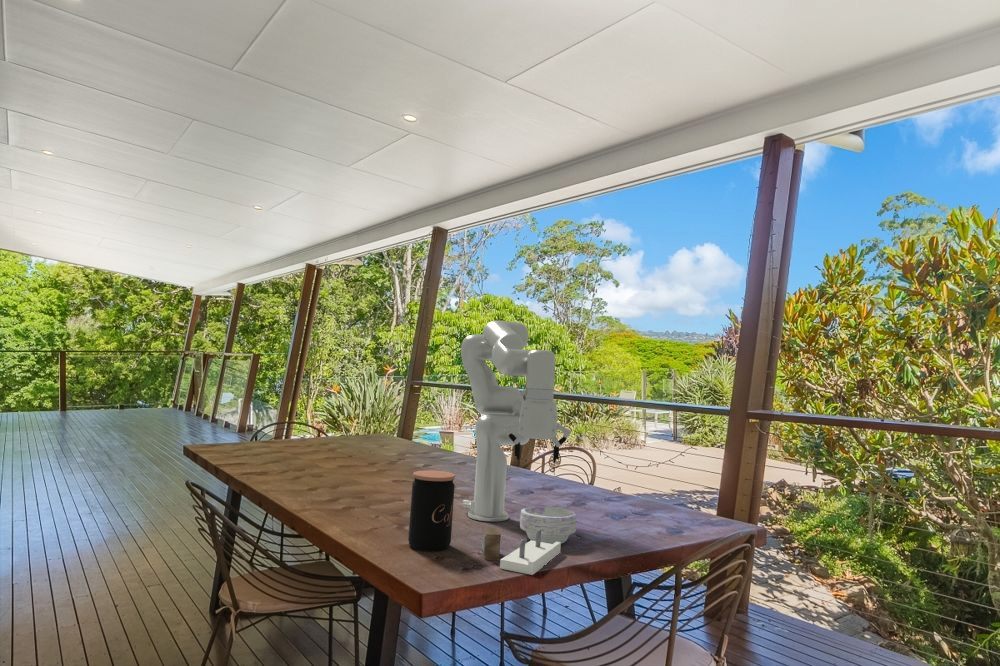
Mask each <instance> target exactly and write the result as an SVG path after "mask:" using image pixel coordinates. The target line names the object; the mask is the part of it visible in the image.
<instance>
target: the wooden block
mask: <svg viewBox="0 0 1000 666" xmlns="http://www.w3.org/2000/svg"><path fill="white" fill-rule="evenodd" d="M482 530H483V531H482V542H481V545H482V546H481V552H482V556H483V559H484V561H485V560H486V561H488V560H489V561H500V553H501V540H502V539H501V538H502V537H501V533H500V530H499V528H498V527H495V526H493V527H492V526H491V527H490V526H483V529H482Z"/></svg>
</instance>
